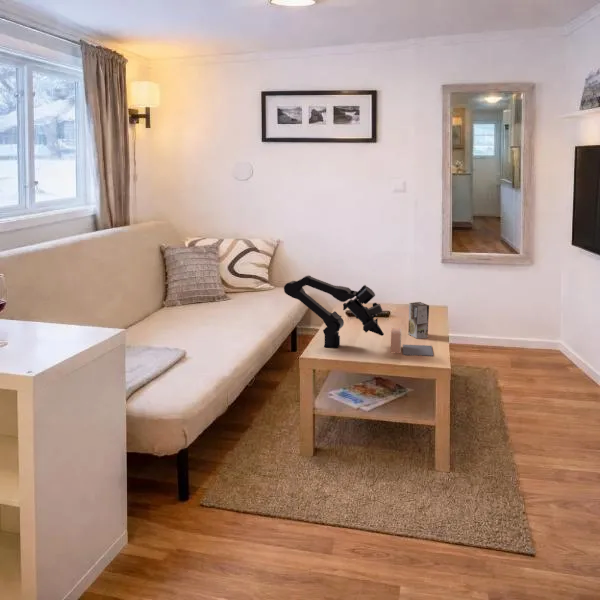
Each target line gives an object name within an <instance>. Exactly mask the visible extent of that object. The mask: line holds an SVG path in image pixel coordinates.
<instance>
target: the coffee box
mask: <svg viewBox="0 0 600 600" xmlns="http://www.w3.org/2000/svg"><path fill="white" fill-rule="evenodd" d="M429 313H430V305H429V304H426V303H424V302H421V301H416V302H409V303H408V333H407V334H409V336H410V335H411V336H410V337H412V336H413V337H412V338H414V337H415V338H414V339H417V340H418V338H419V339H427V338H428V337H429V318H430V317H429V315H430V314H429Z"/></svg>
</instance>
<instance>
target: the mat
mask: <svg viewBox="0 0 600 600" xmlns="http://www.w3.org/2000/svg"><path fill="white" fill-rule="evenodd" d="M402 355H403V356H414V355H418V357H419V355H422V356H421V357H434V352H433V347H432V345H428V344H427V345H425V344H424V345H423V344H422V345H421V344H402Z"/></svg>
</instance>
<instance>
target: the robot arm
mask: <svg viewBox="0 0 600 600" xmlns="http://www.w3.org/2000/svg"><path fill="white" fill-rule="evenodd" d="M305 286H308V287H310V288H313V289H316V290H319V291H320V292H323V293H327V294H329V295H331V296H332V297H333V298H334V299H336V300H337V301H339V302H341V303H343V304H342V305H343V307H342V308H343V309H342V310H343V311H346V310H347V309H348V310H349V311H350V312H351V313H352V314H353V315H354V316H355V318H356V319H357V320H358V321H360V322H361V323H362V324H361V325H362V331H364V333H368V332H372V333H374V334H377V335H379V336H381V337H383V336H384V335H385V333H384V332H383V330H382V329H381V327H380V324H379V323H378V319H379V318H378V314H381V313H383V308H382V306H381V303H377V302H373V303H372V306H370V307H367V306H364V305H367V304H368V303H369V302H370V301H371V300H372V299H374V298H375V297H376V293H375V291H374V290H373V289H372V288H370V287H368V286H367V285H366V284H364V285H363V286H361V288H360V289H359V290H358V291H356V290H353V289H351V288H350V287H349V286H348V287H347V286H342V285H335V284H334V285H333V284H331V283H328V282H326V281H323V280H321V279H319V278H315V277H313V276H311V275H309V274H308V275H305V276H303V277H302V278H300V279H299V280H292V281H289V282H287V283H285V284H284V286H283V292H284V293H285V294H286V295H287V296H289V297H290V298H292V299H295V300H298V301H300V302H301V303H302V304H303V305H304V306H306V307H307V308H308V309H309V310H310V311H312V312H313V313H314V314H315V315H316V316H318V317H319V318H320V319H321V320H322V321H323V323H324V325H325V326H326V327H325V328H324V329H323V330H322V331H323V335H324V345H323V348H334V349H335V348H336V349H337V348H339V346H340V345H341V335H340V334H339V332H340V330H341V329H342V328H343V327H344V325H345V324H344V323H345V322H344V318H342V315H340V314H339V313H337V311H335V310H334V311H333V312H330V311H329V310H327V309H326V307H324V306H322V305H321V304H320V303H319V302H318V301H316V300H315V298H313V297H311V296H310V295H309V294H308V293H306V291H305V289H304V287H305ZM363 304H364V305H363ZM375 317H377V318H375ZM374 318H375V319H374Z"/></svg>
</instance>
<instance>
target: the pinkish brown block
mask: <svg viewBox="0 0 600 600" xmlns="http://www.w3.org/2000/svg"><path fill="white" fill-rule="evenodd" d="M390 332H391V333H390V353H391V352H395V353H394V354H400V353H402V352H401V350H402V328H401V327H391V331H390Z"/></svg>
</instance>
